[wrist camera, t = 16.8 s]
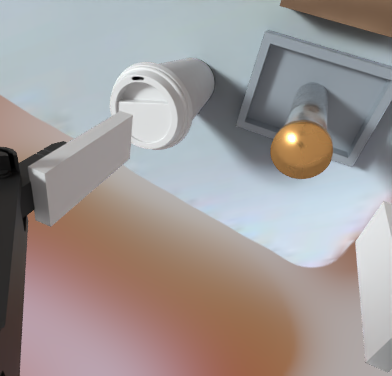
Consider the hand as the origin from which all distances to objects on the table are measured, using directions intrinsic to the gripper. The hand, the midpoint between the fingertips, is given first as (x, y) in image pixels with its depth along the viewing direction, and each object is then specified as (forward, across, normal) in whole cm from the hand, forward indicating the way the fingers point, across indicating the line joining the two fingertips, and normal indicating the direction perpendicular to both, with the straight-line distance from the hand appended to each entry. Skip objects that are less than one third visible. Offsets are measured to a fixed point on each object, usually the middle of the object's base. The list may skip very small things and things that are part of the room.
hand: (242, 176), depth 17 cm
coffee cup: (+29, -13, -6) cm, 33 cm away
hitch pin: (+29, +3, -3) cm, 29 cm away
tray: (+29, +3, -3) cm, 30 cm away
